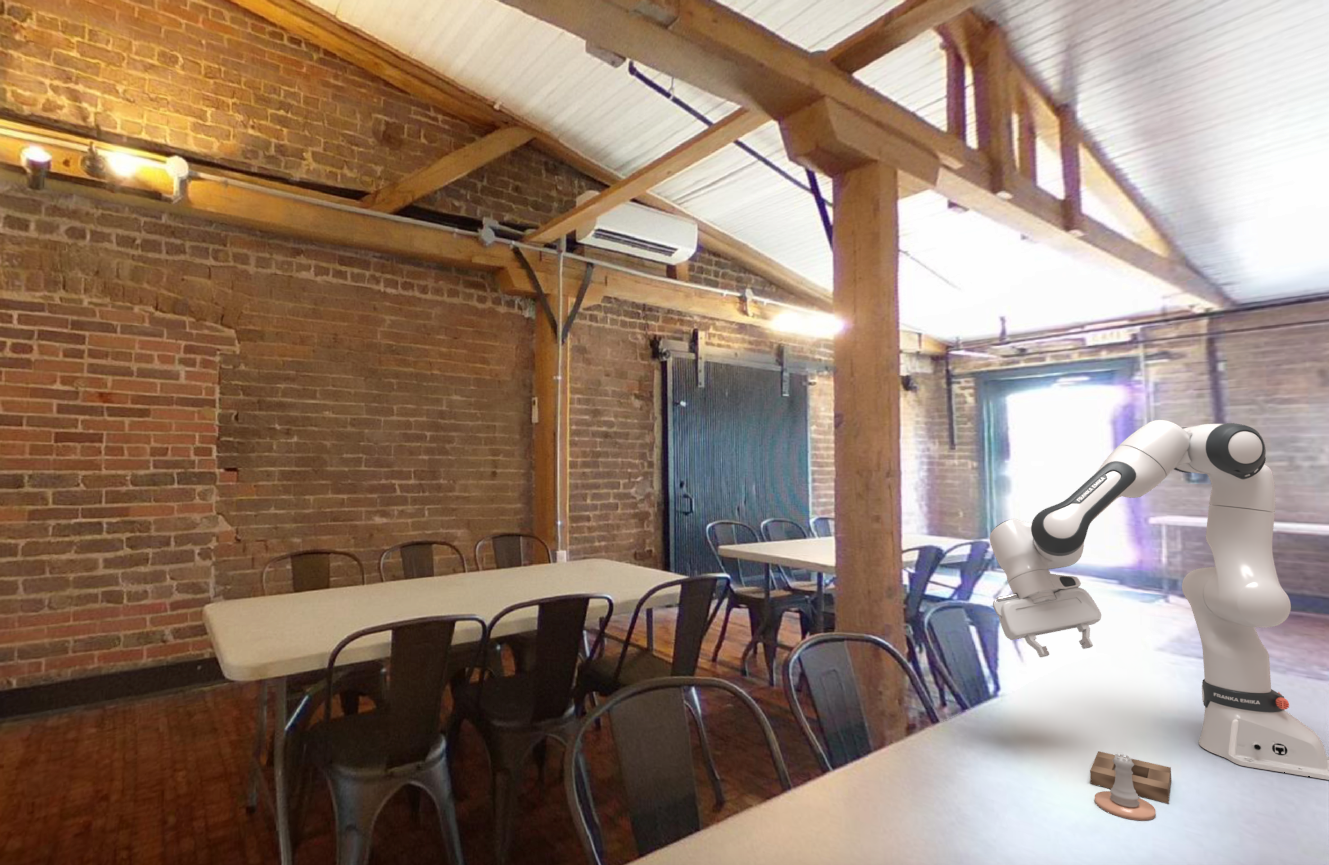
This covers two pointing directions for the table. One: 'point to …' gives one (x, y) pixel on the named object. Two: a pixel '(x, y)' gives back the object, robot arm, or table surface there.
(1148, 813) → the coaster
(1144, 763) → the socket block
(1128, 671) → the table surface
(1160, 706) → the table surface
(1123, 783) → the rook chess piece
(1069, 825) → the table surface
